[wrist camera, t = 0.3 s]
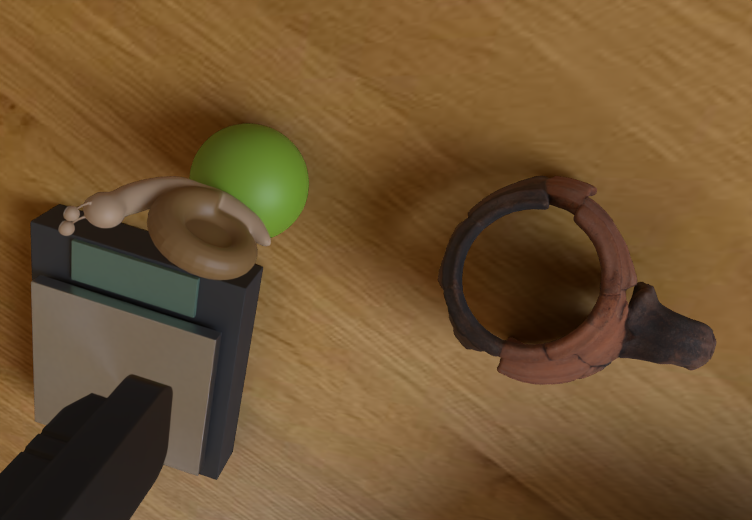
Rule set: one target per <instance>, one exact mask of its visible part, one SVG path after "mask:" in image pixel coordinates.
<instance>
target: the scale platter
mask: <svg viewBox="0 0 752 520" xmlns="http://www.w3.org/2000/svg"><path fill="white" fill-rule="evenodd" d="M31 300H32V335H33V370H34V405H35V421H36V422H38V423H41V424H44V425H47V424H48V423H49V422H50V421H51V420H52V419H53V418H54V417H55V416H56V415H57V414H58V413H59V412H60V411H61V410H62V409H63V408H64V407H66V406H68V405H70V404H71V403H73V402H75V401H77V400H79V399H81V398H83V397H85V396H87V395H89V394H90V393H94V394H97V395H100V396H103V397H106V398H108V396H109V395H110V394H111V393H112V392H113V391H114V390H115V389H116V387H117V386H118V385H119V384H120V383H121V382H122V381H123V380H124V379H125V378H126V377H127V376H128V375H130V374H134V375H137V376H140V377H143V378H147V379H150V380H153V381H156V382H159V383H162V384H165V385H168V386H171V387H172V390H173V399H172V410H171V421H170V432H169V443H168V450H167V455H166V458H165V461H164V464H163V465H166V466H169V467H172V468H175V469H178V470H181V471H184V472H187V473H190V474H193V475H196V476H198V475H199V473H200V471H201V470H202V468H203V465H204V458H205V451H206V444H207V436H208V429H209V422H210V415H211V408H212V400H213V393H214V386H215V379H216V371H217V364H218V357H219V350H220V343H221V335H222V333H221V332H218V331H215V330H212V329H209V328H205V327H202V326H199V325H196V324H193V323H190V322H187V321H183V320H180V319H177V318H174V317H171V316H168V315H165V314H161V313H158V312H155V311H152V310H149V309H146V308H143V307H139V306H136V305H133V304H130V303H127V302H124V301H121V300H117V299H114V298H111V297H108V296H105V295H102V294H99V293H95V292H92V291H89V290H86V289H83V288H80V287H77V286H73V285H70V284H67V283H64V282H61V281H58V280H55V279H51V278H48V277H45V276H42V275H39V276H38V277H37V278H35V279H34V280H33V281H31Z"/></svg>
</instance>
